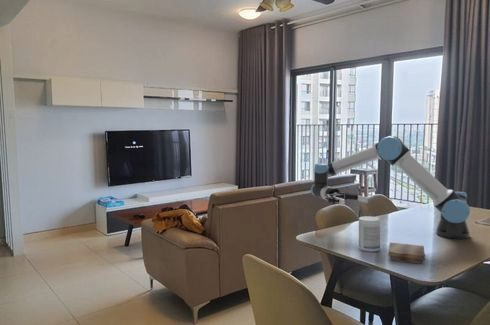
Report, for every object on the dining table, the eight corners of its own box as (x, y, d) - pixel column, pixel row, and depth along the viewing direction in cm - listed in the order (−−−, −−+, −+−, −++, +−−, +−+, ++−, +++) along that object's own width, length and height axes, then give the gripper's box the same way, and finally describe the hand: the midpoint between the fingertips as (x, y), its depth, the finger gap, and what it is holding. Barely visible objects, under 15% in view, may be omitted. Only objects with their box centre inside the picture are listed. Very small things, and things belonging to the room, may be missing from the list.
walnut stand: (423, 254, 165) (423, 245, 164) (424, 265, 152) (424, 255, 151) (389, 250, 170) (389, 242, 170) (388, 261, 157) (388, 251, 157)
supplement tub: (384, 249, 172) (384, 218, 171) (371, 253, 167) (371, 221, 165) (367, 244, 180) (367, 214, 179) (354, 248, 175) (354, 217, 173)
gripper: (349, 199, 205) (375, 206, 185) (310, 202, 196) (333, 210, 177) (349, 185, 204) (376, 191, 185) (310, 188, 196) (334, 195, 176)
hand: (355, 201), depth 181 cm, fingers open, 13 cm apart
